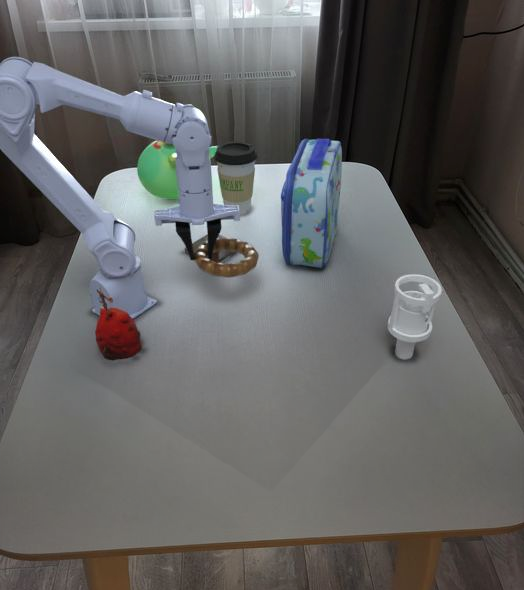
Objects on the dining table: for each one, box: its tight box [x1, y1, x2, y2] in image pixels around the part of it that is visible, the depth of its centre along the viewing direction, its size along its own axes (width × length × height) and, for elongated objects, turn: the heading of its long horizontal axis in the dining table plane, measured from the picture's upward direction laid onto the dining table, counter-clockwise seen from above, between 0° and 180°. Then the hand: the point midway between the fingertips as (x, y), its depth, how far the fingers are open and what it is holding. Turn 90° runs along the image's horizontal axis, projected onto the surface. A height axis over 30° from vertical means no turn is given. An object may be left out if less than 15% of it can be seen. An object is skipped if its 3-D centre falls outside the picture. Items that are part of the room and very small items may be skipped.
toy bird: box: [136, 140, 219, 200], centre depth 136 cm, size 18×17×15 cm
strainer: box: [387, 273, 442, 360], centre depth 91 cm, size 7×7×15 cm
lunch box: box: [280, 138, 343, 269], centre depth 116 cm, size 26×11×21 cm, turn 168°
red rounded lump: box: [94, 287, 142, 361], centre depth 91 cm, size 8×7×15 cm
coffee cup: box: [213, 140, 258, 216], centre depth 130 cm, size 10×10×15 cm
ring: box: [193, 236, 260, 278], centre depth 102 cm, size 12×12×2 cm
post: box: [184, 234, 238, 263], centre depth 118 cm, size 9×9×8 cm
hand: (200, 256), depth 101 cm, fingers closed on ring, 2 cm apart
